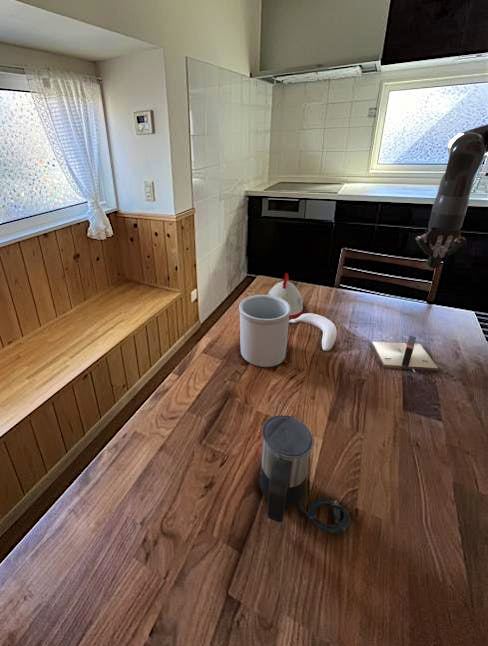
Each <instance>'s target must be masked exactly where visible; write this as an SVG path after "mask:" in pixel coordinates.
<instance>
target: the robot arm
mask: <svg viewBox="0 0 488 646" xmlns="http://www.w3.org/2000/svg"><path fill="white" fill-rule="evenodd" d="M447 153H448V155H449V157H448V159H447V160H448V161H447V164H446V169H445V172H444V173H443V174H442V176H441V178H440V183H439V187H438V190H437V193H436V196H435V198H434V201H433V205H432V207H431V212H430V216H429V220H428V224H427V226H428V227H427V229H425V231H424V233H423V234H422V235H419V236H418V235H417V236H415V237H414V240H415V241H416V243H417V244H418V246H419V248H420V249H421V250H422V252H423V253H424V254H426V255H427V256H428V258H427V262H426V264H427V266H428V268H429V269H431V270H438V268H440V266H441V263H442V260H443V258H444V257H445V256H448V257H449V256H452V255H453V254H454V253H456V252H457V251H458V250H459V249H460V248H462V247H463V246H464V245H465V244H467V242H468V240H467V239H466V238H465V237H463V236H461V233H462V232H461V229H462V227H463V223H464V220H465V216H466V213H467V209H468V207H469V203H470V202H469V201H470V197H471V193H472V190H473V186H474V182H475V177H476V175H477V173H478V171H479V168H480V166H481V164H482V162H483V159H484V157H485V155H486V153H488V124H484V125H481V126H478V127H475V128H474V127H473V128H472V129H468V130H465V131H463V132H460V133H458V134H457V135H455V136H453V138H452V139H451V140H450V141H449V143H448V145H447ZM427 242H429V246H428V245H427Z"/></svg>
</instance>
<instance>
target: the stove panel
mask: <svg viewBox="0 0 488 646" xmlns="http://www.w3.org/2000/svg"><path fill="white" fill-rule="evenodd" d="M370 345H371V347H372V349H373V351H374V353H375V355H376V357H377V358H378V360H379V362H380V364H381V366H382V368H384V369H385V368H386V369H400V370H412V372H413V373H416V371H429V372H438V371H439V367H438V365H436V363H435V361H434V360H433V359H432V358H431V356H430V355H429V354H428V352H427V351H426V350H425V347H423V346H422V344H420V343H414V348H413V352H412V355H411V359H410V362H409V366H408V367H407V366H404V365H402V362H403V358H404V354H405V350H406V346H407V342H406V343H403V342H387V341H371V343H370Z"/></svg>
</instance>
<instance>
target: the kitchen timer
mask: <svg viewBox="0 0 488 646" xmlns="http://www.w3.org/2000/svg"><path fill="white" fill-rule="evenodd" d="M289 277H290V276H289V273H287V272H286V273H285V274H284V277H283V280H282V281H279V282H278V283H276V284H275V285H274V286H272V288H270V289H269V290H268V292H267V294H266V295H272V296H276V297H279V298H281V299H283V300H285V301H286V302H287V303H288V304H289V306H290V315H289V320H291V319H296V318H298V317H299V316H300V315H302V314H303V311H304V308H303V307H304V302H303V300H304V299H303V293H302V292H300V291H299V289H298V288H297V286H296V285H295V284H294V283H292V282H290V281H289Z"/></svg>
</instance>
